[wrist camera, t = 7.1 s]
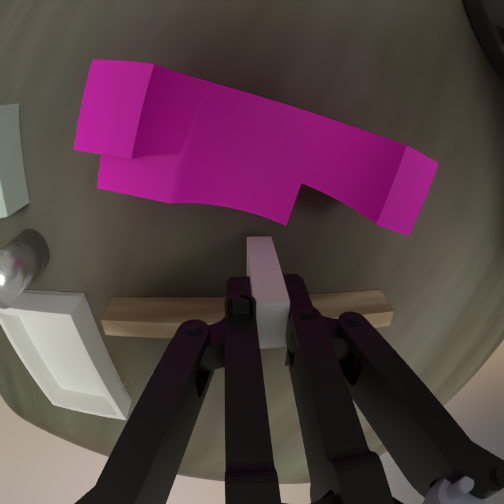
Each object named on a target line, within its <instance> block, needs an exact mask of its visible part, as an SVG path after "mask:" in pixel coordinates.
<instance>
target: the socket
mask: <svg viewBox="0 0 504 504" xmlns="http://www.w3.org/2000/svg"><path fill="white" fill-rule="evenodd" d="M29 203H30V200H29V195H28V189H27V184H26V178H25V171H24V164H23V156H22V147H21V136H20V120H19V103H17V104H9V105H1V106H0V218H3V217H8V216H10V215H11V214H13V213H14V212H16V211H17V210H19V209H21V208H22V207H24V206H25V205H27V204H29Z"/></svg>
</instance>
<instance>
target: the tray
mask: <svg viewBox="0 0 504 504" xmlns="http://www.w3.org/2000/svg"><path fill="white" fill-rule="evenodd" d="M0 324H1V326H2V328H3V330H4V332H5V333H6V335H7V337H8V339H9V340H10V342H11V344H12V346H13V347H14V349H15V351H16V352H17V354H18V356H19V357H20V359H21V360H22V362H23V363H24V365H25V366H26V368H27V369H28V371H29V372H30V374H31V375H32V377H33V378H34V380H35V381H36V383H37V384H38V385H39V387H40V388H41V389H42V391H43V392H44V393H45V395H46V396H47V397H48V399H49V400H50V401H51V402H52V404H53V405H56V406H60V407H63V408H67V409H71V410H76V411H80V412H84V413H89V414H94V415H99V416H104V417H110V418H116V419H122V420H127V416H128V411H129V407H130V403H131V398H130V396H129V395H128V393H127V391H126V389H125V387H124V385H123V383H122V381H121V379H120V377H119V375H118V373H117V371H116V369H115V367H114V364H113V362H112V360H111V358H110V356H109V354H108V351H107V349H106V347H105V344H104V342H103V340H102V337H101V335H100V332H99V330H98V327H97V325H96V322H95V320H94V317H93V315H92V312H91V309H90V306H89V304H88V301H87V298H86V295H85V293H83V292H60V291H42V290H26V289H24V290H23V291H22V292H21V293H20V295H19V296H18V297H17V298H16V299H15V300H14V302H13V303H12V304H11V305H10V307H9V308H7V309H1V308H0Z"/></svg>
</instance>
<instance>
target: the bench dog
mask: <svg viewBox="0 0 504 504" xmlns="http://www.w3.org/2000/svg"><path fill="white" fill-rule="evenodd" d="M48 261H49V250H48V246H47V244H46V242H45V240H44V239H43V237H42V236H41V235H40V234H39V233H38V232H36V231H34V230H32V229H26V230H24V231H23V232H21V233H20V234H19V235H18V236H16V237H15V238H14V239H13V240H11V241H10V242H9V243H8V244H7V245H5V246H4V247H3V248H2V249H1V250H0V308H1V309H7V308H9V307H10V305H11V304H12V303H13V302H14V300H15V299H16V298H17V297H18V296H19V295H20V293H21V292H22V291H23V290H24V289H25V288H26V286H27V285H28V284H29V283H30V282H31V281H32V280H33V279H34V277H35V276H36V275H37V274H38V273H39V272H40V271H41V270H42V269H43V268H44V267H45V265H46V264H47V263H48Z"/></svg>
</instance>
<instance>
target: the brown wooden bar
mask: <svg viewBox="0 0 504 504" xmlns="http://www.w3.org/2000/svg"><path fill="white" fill-rule="evenodd" d="M309 297H310V300H311V302H312V305H313V307H315V308H316V309H318V310H319V312H320V313H321V315H322V316H325V317H329V318H335V319H338V318H339V316H340V315H341V314H342V313H344V312H348V311H352V312H357V313H359V314H361V315H362V316H364V317H365V318H366V319H367V320H368V321H369V322H370V324H371V325H372V326H373V327H374V328H377V327H384V326H389V325H390V322H391V319H392V316H393V314H394V310H393V308H392V307H391V305H390V304H389V303H388V301H387V300H386V298H385V297H384V295H383V294H382V292H381V291H380V290H379V289H378V290H365V291H352V292H336V293H320V294H309ZM225 299H226V297H115V296H113V297H112V299H111V300H110V302H109V304H108V306H107V308H106V310H105V312H104V314H103V316H102V318H101V320H100V321H101V323H102V326H103V328H104V331H105V334H106V335H114V336H129V337H147V338H173V336H174V334H175V333H176V331H177V329H178V327H179V326H180V325H181V324H182V323H183V322H185V321H187V320H192V319H199V320H202V321H204V322H206V323H207V324H208V325H210V324H214V323H217V322H219V321H221V320H222V319H223V318H224V317H225V305H224V302H225Z"/></svg>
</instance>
